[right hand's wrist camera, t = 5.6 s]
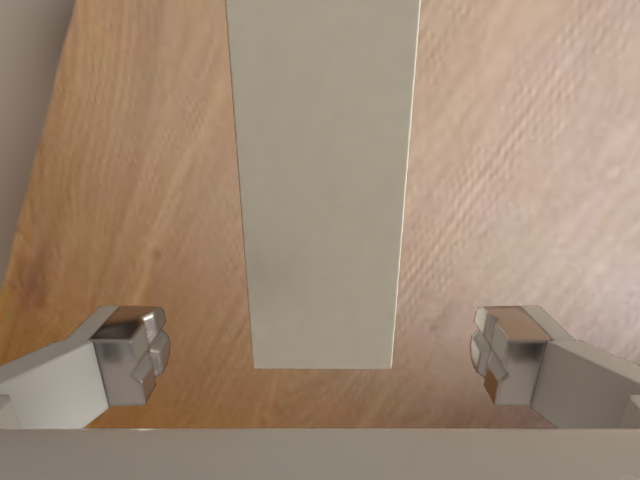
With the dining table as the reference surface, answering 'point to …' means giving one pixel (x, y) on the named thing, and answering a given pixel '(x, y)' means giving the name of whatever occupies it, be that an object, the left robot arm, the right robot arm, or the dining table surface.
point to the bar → (322, 173)
